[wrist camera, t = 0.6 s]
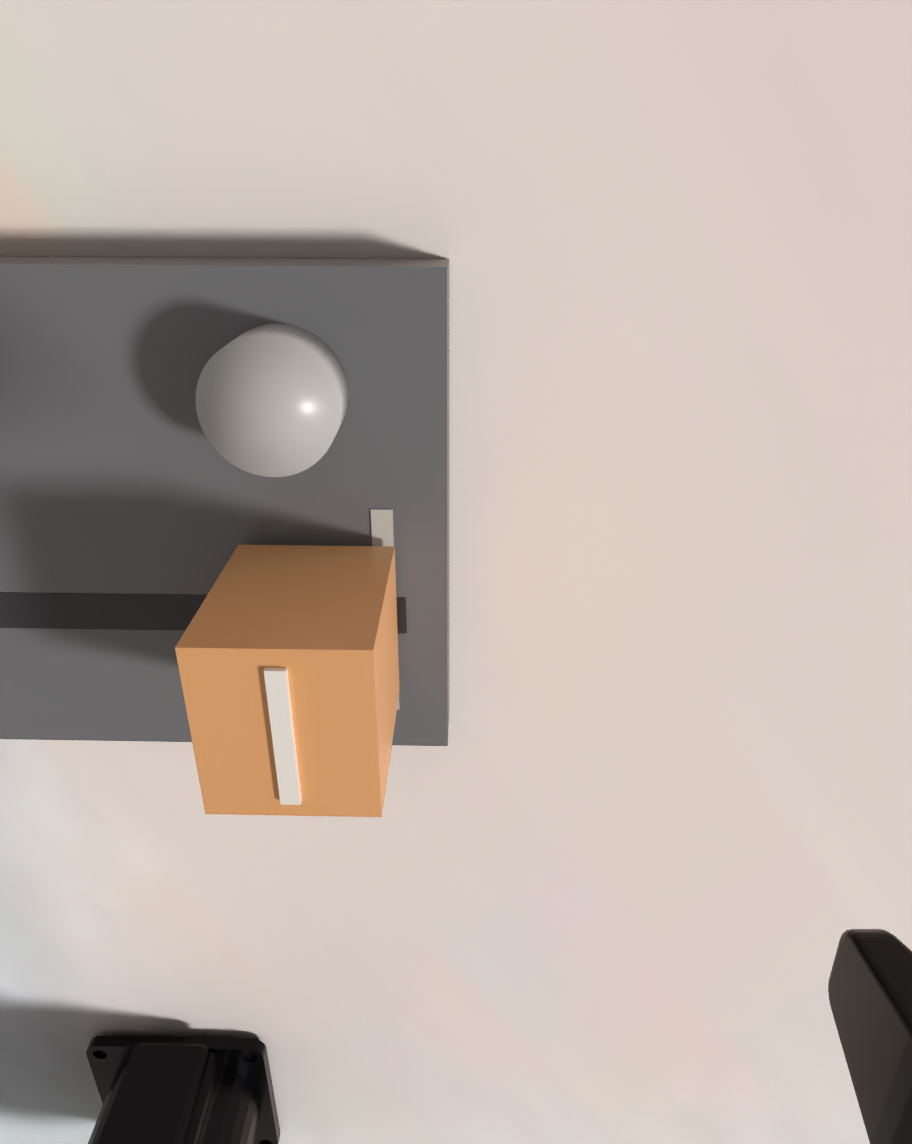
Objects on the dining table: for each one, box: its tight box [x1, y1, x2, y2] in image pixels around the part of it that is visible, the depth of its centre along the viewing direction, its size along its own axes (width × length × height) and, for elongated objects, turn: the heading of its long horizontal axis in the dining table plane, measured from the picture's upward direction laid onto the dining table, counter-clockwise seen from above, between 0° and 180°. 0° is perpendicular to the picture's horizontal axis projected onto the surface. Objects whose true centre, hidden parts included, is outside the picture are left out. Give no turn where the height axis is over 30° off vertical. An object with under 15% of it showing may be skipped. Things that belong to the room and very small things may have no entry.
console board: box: [0, 256, 449, 746], centre depth 19 cm, size 12×18×3 cm, turn 89°
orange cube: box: [175, 545, 400, 817], centre depth 17 cm, size 4×4×4 cm
